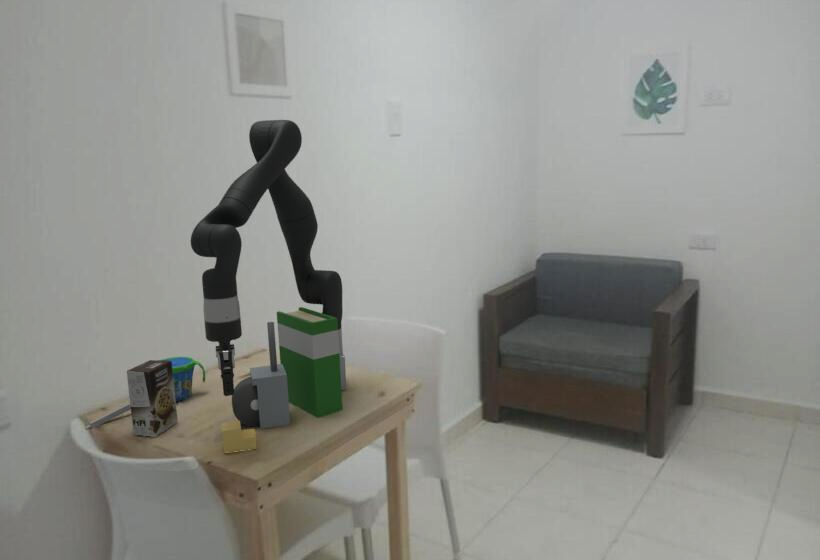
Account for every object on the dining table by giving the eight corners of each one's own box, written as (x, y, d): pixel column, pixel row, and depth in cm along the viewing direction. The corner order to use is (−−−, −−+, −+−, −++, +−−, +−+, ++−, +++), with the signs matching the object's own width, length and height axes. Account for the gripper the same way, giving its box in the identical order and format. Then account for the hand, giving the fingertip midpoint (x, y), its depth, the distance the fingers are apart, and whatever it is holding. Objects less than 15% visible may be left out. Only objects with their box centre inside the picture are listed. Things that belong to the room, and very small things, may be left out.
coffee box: (156, 438, 155) (148, 372, 152) (132, 435, 157) (124, 370, 154) (179, 422, 164) (172, 360, 161) (156, 420, 166) (149, 358, 163)
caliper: (162, 404, 178) (160, 382, 176) (164, 405, 177) (162, 383, 176) (84, 429, 163) (81, 405, 161) (86, 430, 162) (83, 406, 161)
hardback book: (283, 399, 178) (276, 311, 173) (307, 392, 182) (301, 307, 178) (317, 417, 164) (311, 323, 160) (342, 410, 169) (337, 318, 164)
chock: (255, 440, 152) (253, 418, 151) (256, 449, 147) (255, 426, 146) (223, 445, 150) (221, 422, 149) (224, 454, 146) (222, 431, 144)
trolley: (286, 411, 169) (279, 317, 164) (290, 424, 160) (283, 325, 156) (233, 418, 165) (224, 322, 161) (234, 432, 157) (225, 331, 152)
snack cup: (207, 387, 189) (204, 353, 187) (206, 400, 179) (203, 364, 177) (149, 395, 184) (145, 359, 183) (145, 408, 174) (140, 371, 173)
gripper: (242, 322, 137) (247, 397, 140) (238, 308, 151) (244, 377, 154) (204, 326, 135) (210, 401, 138) (204, 311, 149) (210, 381, 151)
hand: (228, 388), depth 146 cm, fingers open, 8 cm apart
